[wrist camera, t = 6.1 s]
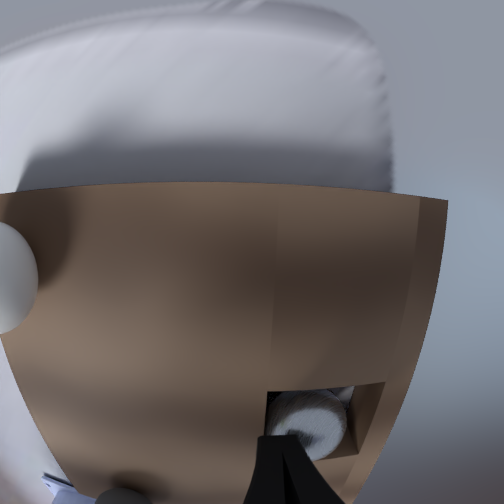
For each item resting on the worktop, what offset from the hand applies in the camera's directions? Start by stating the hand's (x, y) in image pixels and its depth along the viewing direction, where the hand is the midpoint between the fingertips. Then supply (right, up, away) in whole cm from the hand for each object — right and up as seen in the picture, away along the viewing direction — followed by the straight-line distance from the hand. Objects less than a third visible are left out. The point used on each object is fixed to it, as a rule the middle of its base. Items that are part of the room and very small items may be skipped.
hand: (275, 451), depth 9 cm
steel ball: (+1, 0, +2) cm, 2 cm away
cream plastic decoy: (-9, +6, -3) cm, 11 cm away
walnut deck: (-3, +1, +3) cm, 5 cm away
